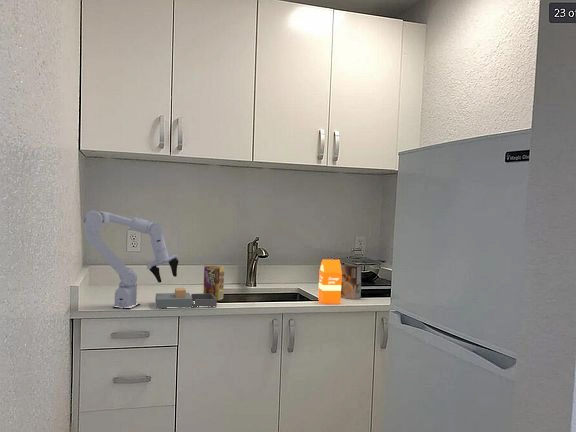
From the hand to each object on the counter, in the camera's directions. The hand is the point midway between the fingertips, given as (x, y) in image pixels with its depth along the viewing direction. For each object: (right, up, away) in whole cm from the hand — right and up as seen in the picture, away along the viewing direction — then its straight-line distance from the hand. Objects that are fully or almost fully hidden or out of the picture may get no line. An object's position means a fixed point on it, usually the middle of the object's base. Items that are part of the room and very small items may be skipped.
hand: (167, 279), depth 223 cm
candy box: (+18, -11, +15) cm, 26 cm away
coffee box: (+84, -13, +30) cm, 90 cm away
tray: (+15, -11, +2) cm, 19 cm away
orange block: (+6, -7, -1) cm, 9 cm away
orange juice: (+72, -13, +18) cm, 76 cm away
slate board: (+3, -11, -2) cm, 12 cm away
